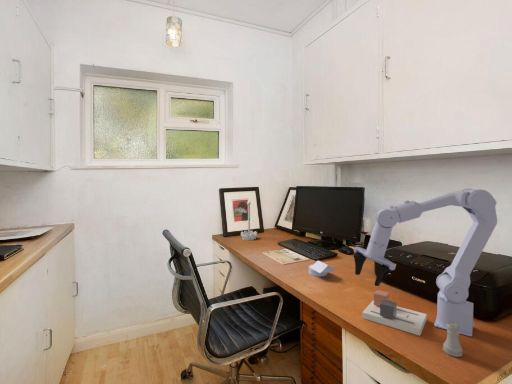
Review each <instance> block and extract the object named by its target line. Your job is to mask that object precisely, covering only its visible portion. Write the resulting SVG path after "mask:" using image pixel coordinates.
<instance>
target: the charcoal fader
mask: <svg viewBox="0 0 512 384" xmlns="http://www.w3.org/2000/svg"><path fill="white" fill-rule="evenodd" d="M397 306H398V305H397V302H396V301H392V300H389V301H388V300H384V299H383V301H382V302H381V303H380V316H383V317H387V318H390V319H394V318H395V316H396V309H397Z"/></svg>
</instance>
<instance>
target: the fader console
mask: <svg viewBox="0 0 512 384" xmlns="http://www.w3.org/2000/svg"><path fill="white" fill-rule="evenodd" d="M361 317H362V319H365V320H368V321H371V322H374V323H377V324H381V325H384V326H387V327H390V328H394V329H397V330H400V331H402V332H403V331H404V332H406V333H410V334H414V335H416V336H421V335H422V332H423V330H424V328H425V325H426V322H427V317H428V315H427V313H424V312H420V311H417V310H416V311H415V310H412V309H409V308H404V307H401V306H398V305H397V309H396V316H395V318H394V319H390V318H387V317H383V316H380V306H377V305H374V299H373V300H372V301H371V302H370V303H369V304H368V306H366V308H365V309H364V310H363V311H362V314H361Z"/></svg>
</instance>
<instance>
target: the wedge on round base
mask: <svg viewBox="0 0 512 384" xmlns="http://www.w3.org/2000/svg"><path fill="white" fill-rule="evenodd" d="M332 272H336V269H334V268H333V267H332V266H330V265H329V264H326V263H324V262H322V261H320V260H317V261H316V262H315V263H313V264H310V265H308V274H309V275H311V276H313V277H326V276H327V275H328V273H332Z"/></svg>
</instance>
